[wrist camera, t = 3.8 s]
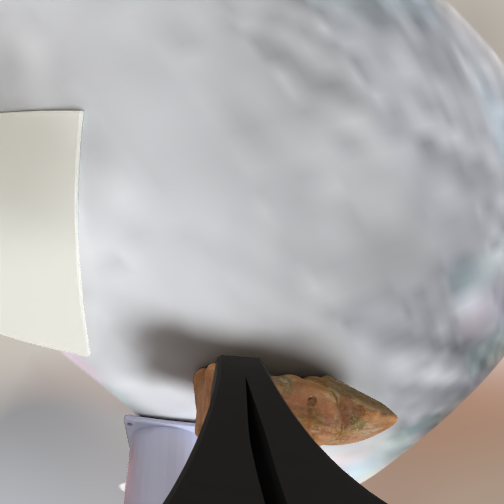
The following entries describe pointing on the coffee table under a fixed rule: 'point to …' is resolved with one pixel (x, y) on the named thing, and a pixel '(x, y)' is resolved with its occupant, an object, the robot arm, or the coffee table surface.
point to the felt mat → (41, 230)
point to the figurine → (314, 407)
